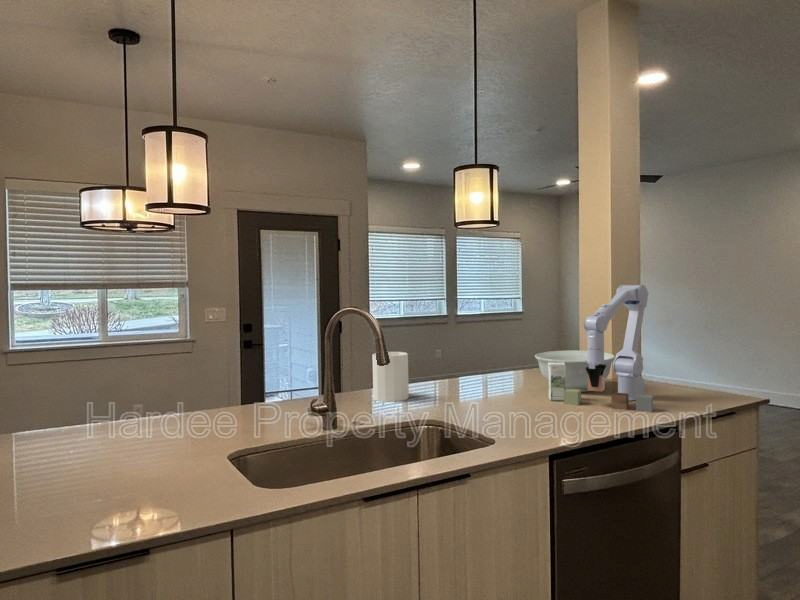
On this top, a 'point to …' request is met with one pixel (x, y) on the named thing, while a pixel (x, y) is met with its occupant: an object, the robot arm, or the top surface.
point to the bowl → (572, 366)
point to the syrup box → (556, 381)
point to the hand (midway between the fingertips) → (596, 385)
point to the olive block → (572, 396)
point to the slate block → (644, 403)
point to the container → (391, 378)
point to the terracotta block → (600, 386)
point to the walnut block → (620, 401)
